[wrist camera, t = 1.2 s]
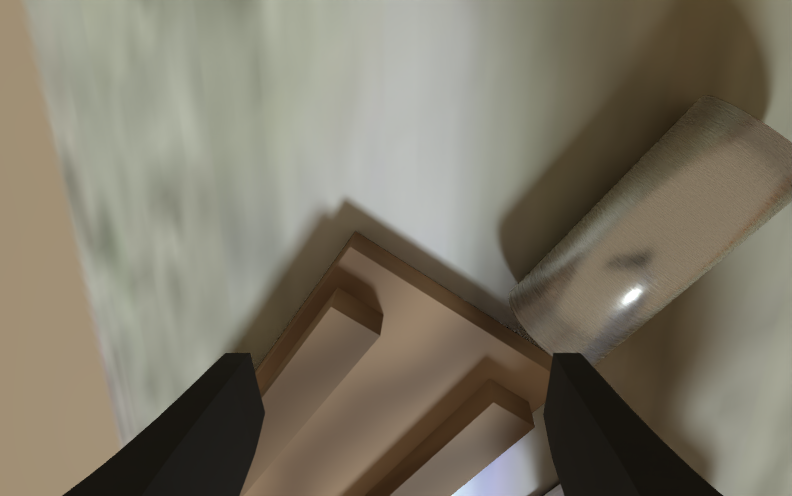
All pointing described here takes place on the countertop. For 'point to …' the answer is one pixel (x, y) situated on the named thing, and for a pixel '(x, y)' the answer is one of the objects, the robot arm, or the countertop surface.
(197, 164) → the countertop surface
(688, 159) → the steel axle
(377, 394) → the cradle block
